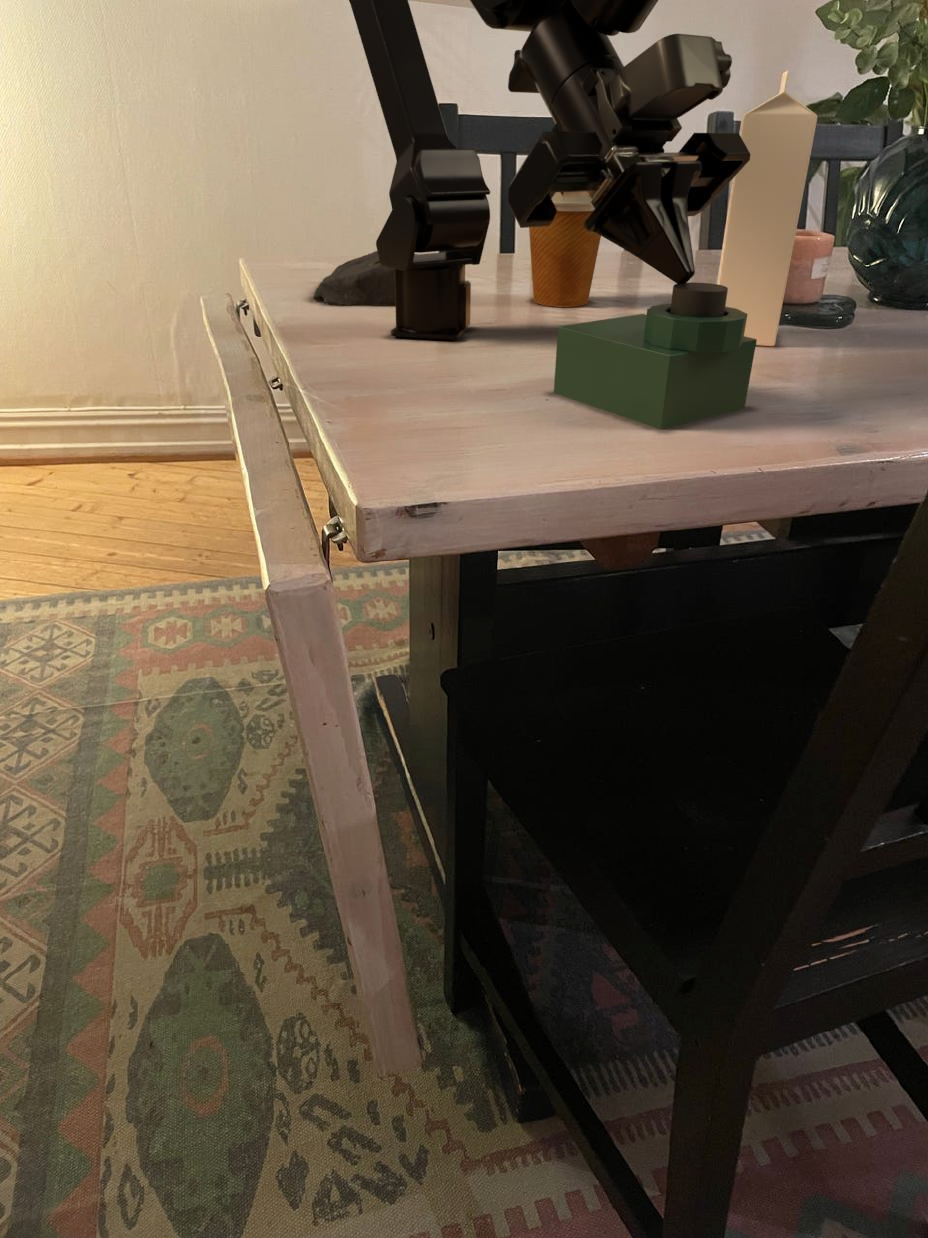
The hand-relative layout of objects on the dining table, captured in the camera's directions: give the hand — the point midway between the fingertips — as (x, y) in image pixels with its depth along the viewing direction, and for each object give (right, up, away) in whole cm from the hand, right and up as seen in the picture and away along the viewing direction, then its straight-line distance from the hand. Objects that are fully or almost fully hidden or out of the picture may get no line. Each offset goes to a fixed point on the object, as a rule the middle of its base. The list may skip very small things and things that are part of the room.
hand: (686, 279), depth 59 cm
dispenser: (-1, -7, +6) cm, 9 cm away
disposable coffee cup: (-4, +13, +41) cm, 44 cm away
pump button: (+1, -3, 0) cm, 3 cm away
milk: (+12, +4, +26) cm, 29 cm away
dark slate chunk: (-25, +17, +47) cm, 56 cm away
